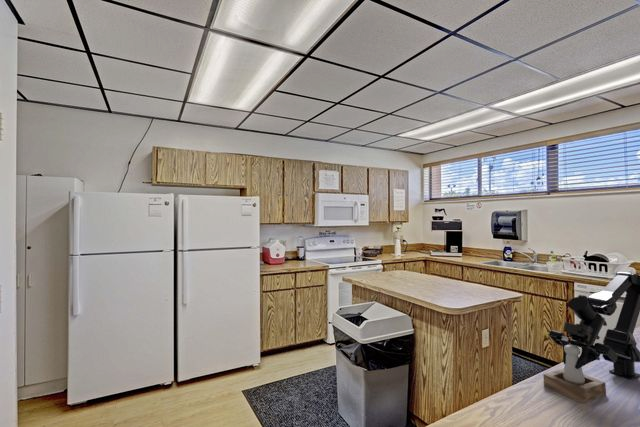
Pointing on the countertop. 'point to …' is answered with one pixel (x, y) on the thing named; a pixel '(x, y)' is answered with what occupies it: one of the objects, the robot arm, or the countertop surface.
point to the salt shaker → (572, 366)
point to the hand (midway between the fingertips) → (570, 366)
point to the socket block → (575, 386)
